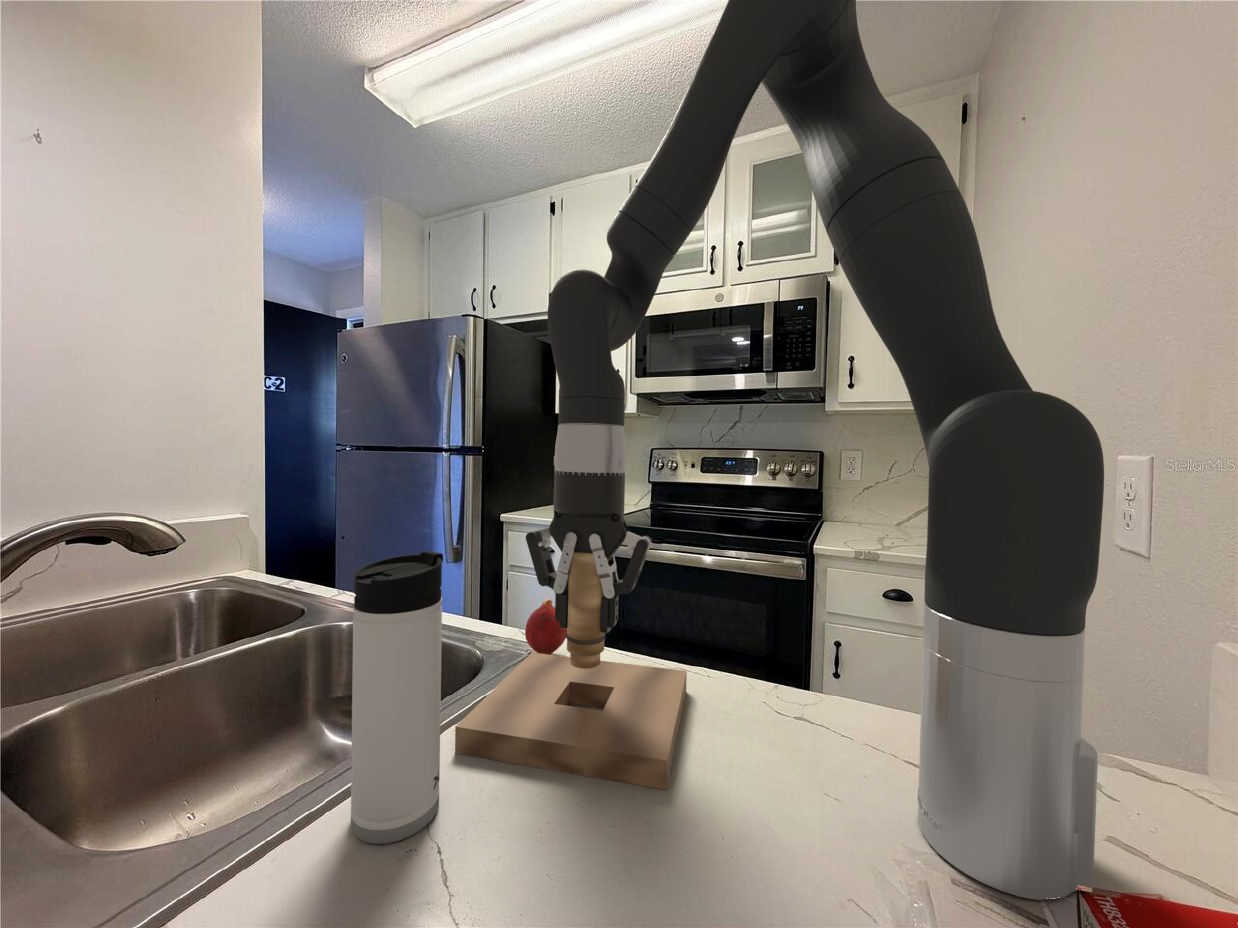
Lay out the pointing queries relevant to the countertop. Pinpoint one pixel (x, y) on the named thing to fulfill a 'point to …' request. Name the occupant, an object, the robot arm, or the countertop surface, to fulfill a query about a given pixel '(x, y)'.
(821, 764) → the countertop surface
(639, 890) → the countertop surface
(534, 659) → the walnut board
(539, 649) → the red egg-shaped piece
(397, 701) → the travel mug
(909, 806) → the countertop surface
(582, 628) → the oak peg
